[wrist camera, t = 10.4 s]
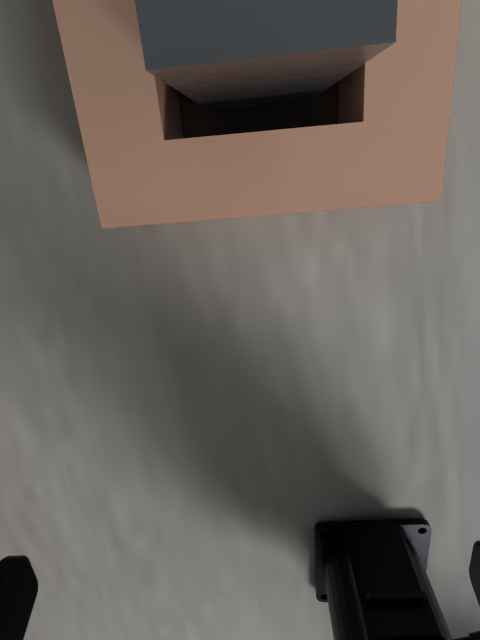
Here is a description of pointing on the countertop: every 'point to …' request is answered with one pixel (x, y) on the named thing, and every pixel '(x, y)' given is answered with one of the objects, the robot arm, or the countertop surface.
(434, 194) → the orange square socket block
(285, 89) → the tall grey square pillar
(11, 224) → the countertop surface
